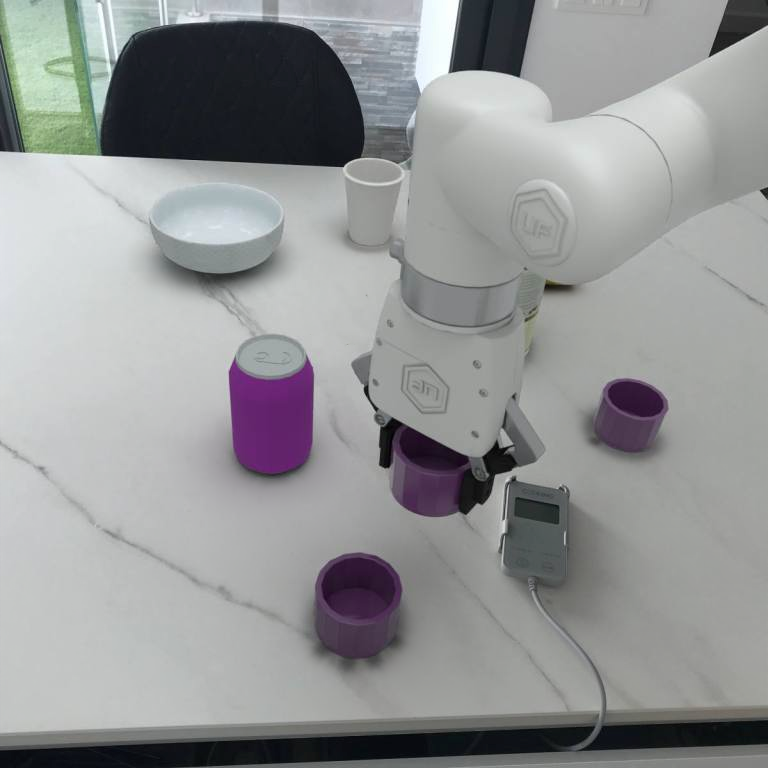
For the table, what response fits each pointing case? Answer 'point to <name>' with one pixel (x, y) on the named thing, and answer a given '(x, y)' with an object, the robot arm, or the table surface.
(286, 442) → the beverage can
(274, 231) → the cereal bowl
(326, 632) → the dish near
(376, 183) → the dixie cup
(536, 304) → the coffee can
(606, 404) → the dish far
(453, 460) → the dish middle
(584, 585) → the table surface
